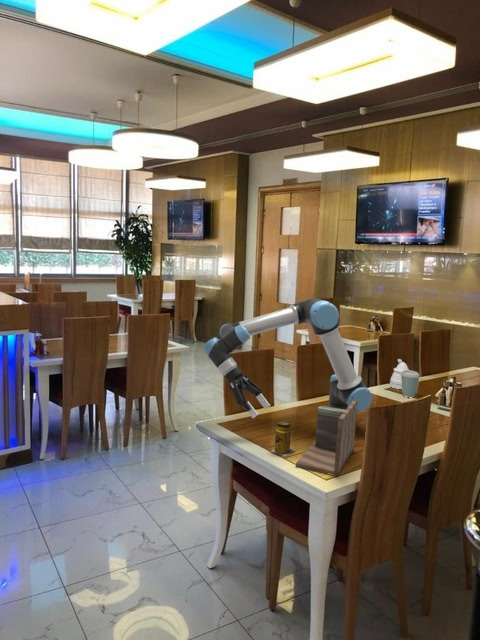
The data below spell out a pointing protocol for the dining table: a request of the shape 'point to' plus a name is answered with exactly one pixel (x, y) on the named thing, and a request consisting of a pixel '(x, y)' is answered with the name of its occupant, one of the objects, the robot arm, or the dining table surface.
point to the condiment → (283, 439)
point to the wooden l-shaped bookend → (331, 440)
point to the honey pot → (398, 375)
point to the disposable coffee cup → (409, 382)
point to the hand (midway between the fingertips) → (262, 412)
